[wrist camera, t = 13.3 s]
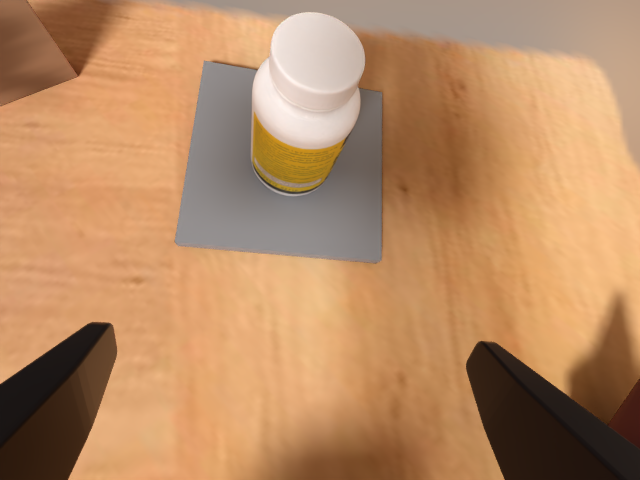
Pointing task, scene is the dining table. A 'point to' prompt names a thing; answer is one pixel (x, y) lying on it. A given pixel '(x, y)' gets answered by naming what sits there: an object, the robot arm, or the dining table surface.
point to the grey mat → (266, 205)
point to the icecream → (629, 417)
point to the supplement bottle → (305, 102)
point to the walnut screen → (27, 53)
